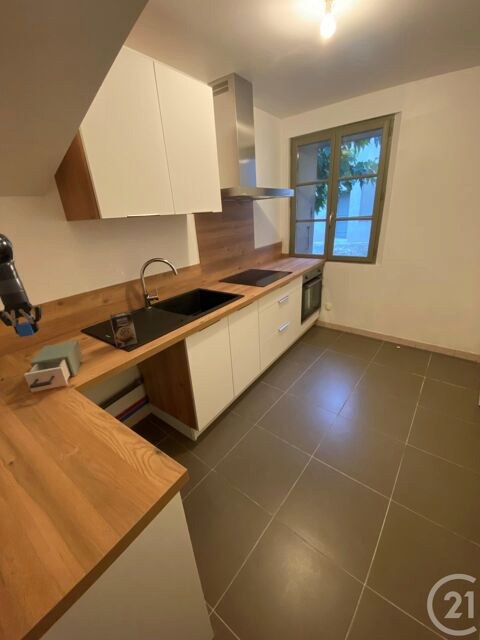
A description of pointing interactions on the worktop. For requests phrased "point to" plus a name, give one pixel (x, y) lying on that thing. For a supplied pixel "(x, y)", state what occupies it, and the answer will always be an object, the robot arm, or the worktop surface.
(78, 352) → the grey-green drawer cabinet
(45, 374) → the dispenser drawer
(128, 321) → the coffee box
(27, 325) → the blue cube
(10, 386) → the worktop surface
